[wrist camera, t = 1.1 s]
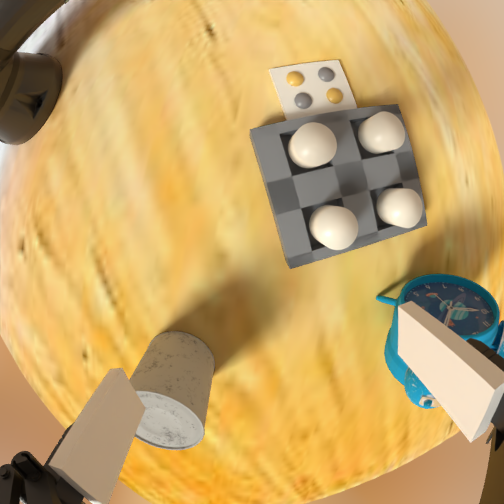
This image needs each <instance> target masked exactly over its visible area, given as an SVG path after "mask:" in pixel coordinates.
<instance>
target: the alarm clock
mask: <svg viewBox="0 0 504 504" xmlns="http://www.w3.org/2000/svg"><path fill="white" fill-rule="evenodd" d="M376 300H378V301H381V302H383V303H387V304H390V305H394V306H395V309H394V315H393V320H392V325H391V328H390V330H389V333H388V335H387V340H386V345H385V353H384V354H385V360H386V363H387V366H388V368H389V370H390V371H391V373H392V374H393V376H394V377H395V378H396V379H397V380H398V381H399V382H400V383H401V384H403V385H404V386H405V391H406V394H407V396H408V398H409V399H410V400H411V401H412V402H413V403H414V404H415V405H417V406H419V407H422V408H425V409H428V408H436V407H439V406H441V405H440V403H439V402H438V401H437V400H436V398H435V397H434V396H433V395H432V394H431V392H430V391H429V390H428V389H427V388H426V386H425V385H424V384H423V383H422V382H421V380H420V379H419V378H418V377H417V376H416V374H415V373H414V372H413V371H412V370H411V369H410V367H409V366H408V365H407V364H406V363H405V362H404V360H403V359H402V358H401V357H400V356H399V355H398V306H399V305H402V304H404V303H407V302H410V301H412V302H414V303H415V304H417V305H418V306H419V307H421V308H422V309H424V310H425V311H426V312H428V313H429V314H430V315H432V316H433V317H435V318H436V319H437V320H439V321H440V322H441V323H443V324H444V325H445V326H447V327H448V328H449V329H451V330H452V331H453V332H455V333H456V334H457V335H458V336H460V337H461V338H462V339H464V340H465V341H466V340H468V339H469V338H473V339H476V340H479V341H482V342H483V343H484V344H486V345H487V346H488V347H490V349H492V350H494V351H495V352H496V354H499V355H500V356H501V357H503V358H504V321H503V320H502V321H501V322H500V324H499V308H498V305H497V303H496V301H495V299H494V298H493V296H492V295H491V294H490V293H489V292H488V291H487V290H486V289H484V288H483V287H481V286H480V285H478V284H477V283H475V282H473V281H471V280H468V279H465V278H462V277H459V276H454V275H448V274H430V275H424V276H420V277H417V278H415V279H413V280H411V281H410V282H408V283H407V284H406V285H405V286H404V288H403V289H402V291H401V294H400V296H399V297H398V299H393V298H389V297H385V296H377V297H376ZM498 324H499V326H498Z"/></svg>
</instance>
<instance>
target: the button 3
mask: <svg viewBox="0 0 504 504" xmlns="http://www.w3.org/2000/svg"><path fill="white" fill-rule="evenodd" d="M358 138H359V141H360V143H361V145H362V146H363V147H364V148H365V149H366V150H367V151H369V152H371V153H374V154H379V153H383V152H387V151H391V150H395V149H398V148H399V147H401V146H402V144H403V143H404V140H405V130H404V127H403V125H402V123H401V121H400V120H399V119H398V118H397V117H396V116H395V115H394V114H392V113H390V112H385V111H383V112H379V113H377V114H375V115H374V116H372V117H370V118H368V119H367V120H365V121H363V122H362V123H361V124H360V126H359V128H358Z"/></svg>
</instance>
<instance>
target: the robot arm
mask: <svg viewBox="0 0 504 504" xmlns="http://www.w3.org/2000/svg"><path fill="white" fill-rule="evenodd" d="M68 1H69V0H0V141H1V142H3V143H5V144H12V145H19V144H22V143H25V142H26V141H28V140H29V139H31V138H32V137H33V136H34V135H35V134H36V133H37V132H38V131H39V129H40V128H41V127H42V126H43V124H44V123H45V121H46V120H47V118H48V116H49V115H50V113H51V111H52V109H53V107H54V105H55V102H56V100H57V97H58V94H59V91H60V87H61V82H62V69H61V65H60V63H59V62H58V61H57V60H56V59H55V58H53V57H51V56H50V55H48V54H44V53H37V54H32V53H21V52H17V50H18V49H19V48H20V47H21V46H22V44H23V43H24V42H25V41H26V40H27V39H28V38H29V37H30V36H31V35H32V33H33V32H34V31H35V30H36V29H37V28H38V27H39V26H40V25H41V24H42V23H43V22H44V21H45V20H46V19H47V18H49V17H50V16H51V15H52V14H53V13H54V12H55V11H56V10H57V9H59V8H60V7H61V6H62V5H63V4H64V3H65V4H66V3H67V2H68ZM398 355H399V356H400V357H401V358H402V359H403V360H404V362H405V363H406V364H407V365H408V366H409V367H410V369H411V370H412V371H413V372H414V373H415V374H416V376H417V377H418V378H419V379H420V380H421V382H422V383H423V384H424V385H425V386H426V388H427V389H428V390H429V391H430V392H431V394H432V395H433V396H434V397H435V398H436V400H437V401H438V402H439V403H440V405H441V406H442V407H443V408H444V410H445V411H446V412H447V413H448V415H449V416H450V417H451V418H452V420H453V421H454V422H455V423H456V425H457V426H458V427H459V428H460V430H461V431H462V432H463V434H464V435H465V436H466V438H467V439H468V440H469V441H470V442H472V441H474V440H475V439H476V438H478V437H479V436H480V435H482V434H483V433H484V432H485V431H486V430H487V428H488V426H489V424H490V422H492V423H493V424H494V428H493V430H492V432H491V433H490V435H489V437H488V439H487V442H486V444H487V443H489V441H490V440H491V438H492V442H491V450H490V457H489V463H488V469H487V474H486V479H485V483H484V488H483V492H482V496H481V499H480V503H479V504H504V358H503V357H501V356H500V355H499V354H496V352H495V351H494V350H492V349H490V347H488V346H487V345H486V344H484V343H483V342H482V341H479V340H476V339H473V338H469V339H468V340H466V341H465V340H464V339H462V338H461V337H460V336H458V335H457V334H456V333H455V332H453V331H452V330H451V329H449V328H448V327H447V326H445V325H444V324H443V323H441V322H440V321H439V320H437V319H436V318H435V317H433V316H432V315H430V314H429V313H428V312H426V311H425V310H424V309H422V308H421V307H419V306H418V305H417V304H415V303H414V302H412V301H410V302H407V303H404V304H402V305H399V306H398ZM145 409H146V408H145V406H144V405H143V403H142V402H141V400H140V398H139V397H138V395H137V393H136V392H135V390H134V388H133V386H132V385H131V383H130V381H129V379H128V378H127V376H126V374H125V372H124V370H123V368H117V369H110V370H109V372H108V373H107V375H106V376H105V377H104V379H103V380H102V382H101V383H100V385H99V386H98V388H97V389H96V391H95V392H94V394H93V395H92V396H91V398H90V399H89V401H88V402H87V404H86V405H85V407H84V409H83V410H82V412H81V413H80V415H79V416H78V418H77V419H76V421H75V422H74V423H73V424H72V425H71V426H69V427H68V428H67V429H66V431H65V432H64V434H63V435H62V438H61V439H60V440H59V442H58V444H57V445H56V447H55V448H54V450H53V451H52V453H51V455H50V456H49V458H48V460H47V461H46V463H45V465H44V466H42V465H41V464H40V463H39V462H38V461H37V460H36V458H35V457H34V456H33V455H32V454H31V453H30V452H28V451H22V452H19V453H18V454H16V455H15V456H14V457H13V459H12V461H11V464H5V465H3V466H1V467H0V504H19V502H20V501H21V502H22V503H23V504H85V503H84V502H83V501H82V500H83V498H84V497H85V498H86V499H87V500H89V501H90V502H91V503H93V504H109V501H110V498H111V496H112V493H113V490H114V487H115V484H116V482H117V479H118V477H119V474H120V471H121V469H122V466H123V464H124V461H125V459H126V456H127V453H128V451H129V448H130V446H131V443H132V441H133V438H134V436H135V433H136V431H137V428H138V426H139V424H140V421H141V419H142V416H143V414H144V412H145Z"/></svg>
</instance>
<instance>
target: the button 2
mask: <svg viewBox="0 0 504 504" xmlns="http://www.w3.org/2000/svg"><path fill="white" fill-rule="evenodd" d="M309 228H310V232H311V234H312V236H313V237H314V238H315V239H316V240H317V241H319V242H320V243H322V244H323V245H325V246H326V247H328V248H330V249H333V250H342V249H345V248H347V247H349V246H350V245H351V244H352V243H353V242H354V241H355V239H356V237H357V234H358V222H357V219H356V217H355V215H354V214H353V213H352V212H351V211H350V210H348V209H347V208H344V207H339V206H332V205H324V206H321V207H319V208H317V209H316V210H315V211H314V212H313V214H312V215H311V218H310V221H309Z"/></svg>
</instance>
